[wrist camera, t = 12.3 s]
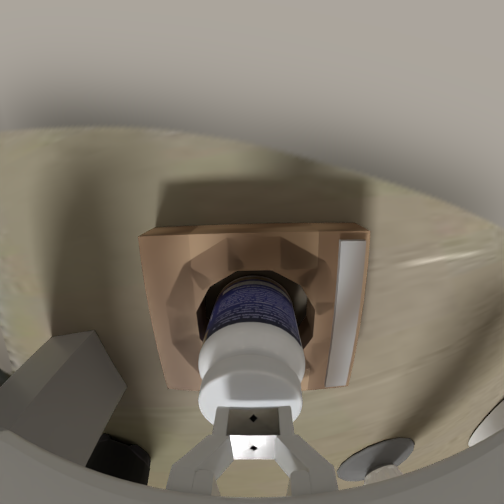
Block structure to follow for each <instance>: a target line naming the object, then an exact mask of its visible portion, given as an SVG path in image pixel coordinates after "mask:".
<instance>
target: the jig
mask: <svg viewBox="0 0 504 504" xmlns="http://www.w3.org/2000/svg"><path fill="white" fill-rule="evenodd" d="M138 240H139V249H140V256H141V264H142V271H143V277H144V284H145V290H146V295H147V301H148V306H149V312H150V317H151V322H152V327H153V331H154V336H155V341H156V345H157V349H158V354H159V358H160V362H161V366H162V370H163V373H164V377H165V381H166V385H167V388H168V389H178V390H191V391H200V387H201V383H202V378H201V376H200V372H199V367H198V360H199V354H200V350H201V346H202V343H203V340H204V337H205V333H206V330H207V327H208V324H209V320H208V318H207V314H206V304H205V294H206V292H207V290H208V289H209V287H210V286H212V285H214V284H215V283H217V282H219V281H220V280H222V279H224V278H226V277H227V276H229V275H231V274H233V273H234V272H236V271H253V270H272V271H274V272H276V273H278V274H280V275H282V276H284V277H286V278H288V279H290V280H292V281H294V282H295V283H297V284H299V285H301V287H302V288H303V290H304V292H305V294H306V295H307V312H306V317H305V318H304V320H303V321H302V323H301V324H300V325H299V327H298V331H299V335H300V339H301V344H302V348H303V352H304V357H305V372H304V376H303V379H302V381H301V391H303V390H316V389H326V388H336V387H344V386H348V385H349V380H350V376H351V371H352V367H353V362H354V357H355V352H356V346H357V341H358V335H359V329H360V323H361V316H362V310H363V302H364V295H365V287H366V278H367V268H368V257H369V245H370V231H369V230H367V229H365V228H364V227H362V226H360V225H358V224H356V223H266V224H228V225H199V226H176V227H155V228H153V229H151V230H149V231H147V232H146V233H144V234H142V235H140V236H138Z"/></svg>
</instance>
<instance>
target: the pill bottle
mask: <svg viewBox="0 0 504 504" xmlns="http://www.w3.org/2000/svg"><path fill="white" fill-rule="evenodd" d="M198 367H199V372H200V376H201V378H202V383H201V387H200V392H199V398H198V402H199V407H200V410H201V412H202V414H203V415H204V417H205V418H206V419H207V420H208V421H209V422H210V423H212V424H213V425H214V420H215V414H216V409H217V407H218V406H225V407H273V406H290V407H291V411H292V419H293V421H294V420H295V419H296V418H297V417H298V415H299V414H300V412H301V409H302V402H303V400H302V392H301V381H302V379H303V376H304V372H305V357H304V352H303V348H302V344H301V339H300V335H299V331H298V327H297V322H296V318H295V313H294V308H293V305H292V301H291V298H290V296H289V294H288V293H287V291H286V290H285V289H284V288H283V287H282V286H281V285H280V284H279V283H277V282H276V281H274V280H272V279H270V278H267V277H263V276H255V275H252V276H244V277H240V278H238V279H235V280H233V281H232V282H230V283H229V284H227V285H226V286H225V287H224V288H223V289H222V291H221V292H220V293H219V295H218V297H217V299H216V302H215V305H214V308H213V311H212V314H211V317H210V320H209V324H208V327H207V330H206V333H205V337H204V340H203V343H202V346H201V350H200V354H199V360H198Z"/></svg>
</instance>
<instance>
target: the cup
mask: <svg viewBox="0 0 504 504" xmlns="http://www.w3.org/2000/svg"><path fill="white" fill-rule="evenodd" d="M413 448H414V442H413V441H412V440H411V439H410V438H395V439H390V440H385V441H382V442H379V443H377V444H374V445H371V446H369V447H367V448H365V449H363V450H361V451H359V452H357V453H355V454H354V455H352V456H351V457H350V458H348V459H347V460H346V461H345V462H343V463H342V464H341V466H340V468H339V469H338V471H337V474H338V477H339V478H341V479H343V480H345V481H361V480H364V485H367V484H371V483H375V482H379V481H383V480H386V479H390V478H393V477H397V476H400V475H403V473H402V472H401V471H400V470H399V469H398V467H397V466H398V465H400V464H401V463H402V462H403V461H405V460H406V459H407V458H408V456H409V455H410V454H411V453H412V451H413Z"/></svg>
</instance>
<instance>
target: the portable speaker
mask: <svg viewBox="0 0 504 504" xmlns="http://www.w3.org/2000/svg"><path fill="white" fill-rule="evenodd" d="M150 462H151V460H150V458H149V455H148V453H146V452H145V451H144V450H143V449H141V448H140V447H139V446H138V445H131V446H128V445H125V444H123V443H120V442H117V441H114V440H112V439H111V437H110V436H109V435H108V434H102V435H101V436H100V438H99V440H98V442H97V444H96V446H95V448H94V450H93V452H92V454H91V456H90V458H89V460H88V462H87V464H86V466H85V467H86V468H89V469H92V470H95V471H97V472H100V473H103V474H106V475H110V476H113V477H116V478H120V479H123V480H127V481H131V482H134V483H138V484H143V485H147V483H148V477H149V471H150Z"/></svg>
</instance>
